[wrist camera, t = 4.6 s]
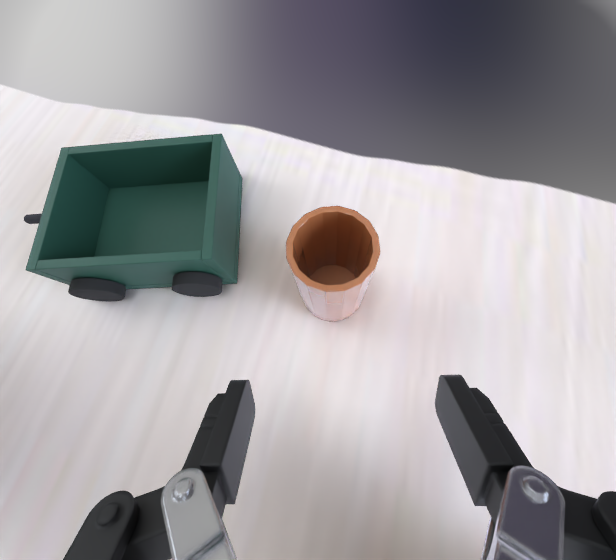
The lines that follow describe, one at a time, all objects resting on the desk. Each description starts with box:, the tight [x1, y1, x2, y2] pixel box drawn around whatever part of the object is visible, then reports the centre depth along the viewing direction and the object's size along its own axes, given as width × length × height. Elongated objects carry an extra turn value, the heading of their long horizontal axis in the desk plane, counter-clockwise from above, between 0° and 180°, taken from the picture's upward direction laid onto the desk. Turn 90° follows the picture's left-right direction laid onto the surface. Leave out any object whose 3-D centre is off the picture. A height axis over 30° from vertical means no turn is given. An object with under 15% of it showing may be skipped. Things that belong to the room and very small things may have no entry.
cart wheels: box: [24, 214, 222, 301], centre depth 27 cm, size 18×14×4 cm
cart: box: [26, 134, 242, 289], centre depth 26 cm, size 15×12×6 cm
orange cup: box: [286, 206, 380, 321], centre depth 21 cm, size 5×5×10 cm
